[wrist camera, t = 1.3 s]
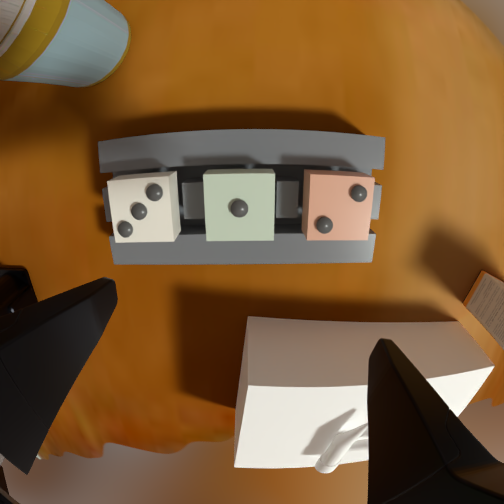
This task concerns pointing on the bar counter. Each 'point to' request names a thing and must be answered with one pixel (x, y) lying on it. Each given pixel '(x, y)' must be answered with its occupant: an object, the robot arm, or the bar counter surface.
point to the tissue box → (335, 385)
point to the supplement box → (488, 304)
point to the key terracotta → (336, 205)
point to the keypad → (243, 157)
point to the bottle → (61, 41)
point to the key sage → (239, 204)
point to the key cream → (145, 207)
